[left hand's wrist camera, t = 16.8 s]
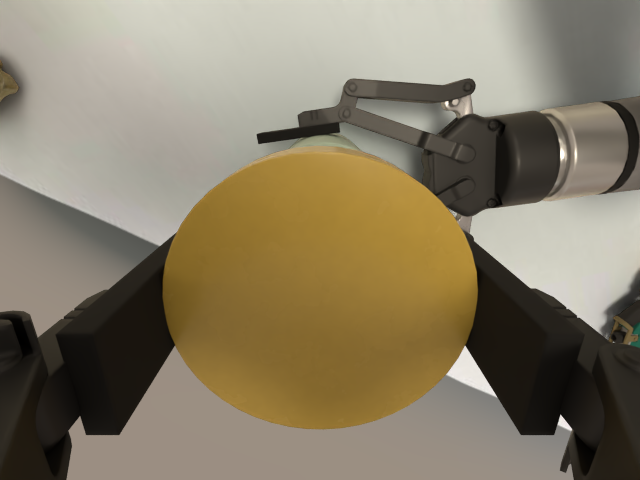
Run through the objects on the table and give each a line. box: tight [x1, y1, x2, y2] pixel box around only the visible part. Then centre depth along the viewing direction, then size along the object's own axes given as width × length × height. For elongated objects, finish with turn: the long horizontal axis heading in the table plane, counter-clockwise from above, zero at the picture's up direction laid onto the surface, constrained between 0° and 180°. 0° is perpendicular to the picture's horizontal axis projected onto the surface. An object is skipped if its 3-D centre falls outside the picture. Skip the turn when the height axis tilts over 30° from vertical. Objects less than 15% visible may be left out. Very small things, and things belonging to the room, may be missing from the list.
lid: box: [162, 146, 478, 429], centre depth 11 cm, size 9×9×2 cm
